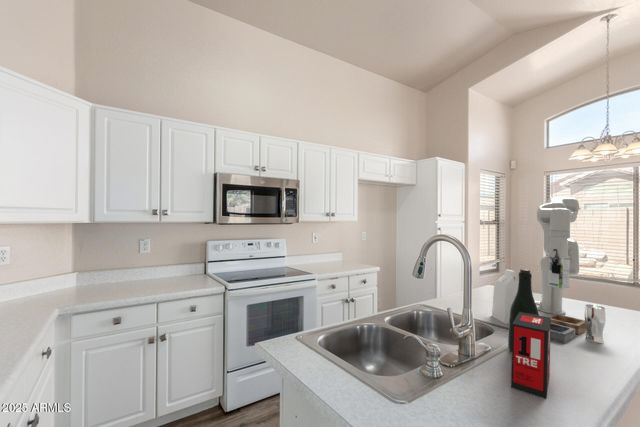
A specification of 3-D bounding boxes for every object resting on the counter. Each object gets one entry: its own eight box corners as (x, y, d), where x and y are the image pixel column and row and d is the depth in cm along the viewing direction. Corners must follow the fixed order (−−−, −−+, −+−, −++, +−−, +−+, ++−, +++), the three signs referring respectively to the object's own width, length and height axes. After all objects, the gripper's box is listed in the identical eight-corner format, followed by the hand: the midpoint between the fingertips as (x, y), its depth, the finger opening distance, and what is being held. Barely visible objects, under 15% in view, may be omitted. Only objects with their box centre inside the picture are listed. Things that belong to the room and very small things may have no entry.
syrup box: (548, 285, 145) (548, 255, 145) (556, 285, 147) (557, 255, 147) (560, 288, 140) (561, 256, 140) (569, 288, 142) (570, 256, 142)
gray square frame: (530, 333, 142) (530, 325, 142) (541, 328, 149) (541, 320, 149) (564, 343, 131) (564, 334, 131) (575, 337, 138) (575, 328, 138)
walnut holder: (545, 326, 151) (545, 317, 151) (555, 322, 159) (555, 313, 159) (578, 335, 141) (578, 326, 141) (587, 330, 148) (587, 321, 148)
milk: (527, 324, 155) (528, 272, 155) (504, 323, 155) (505, 272, 155) (513, 316, 167) (514, 268, 167) (491, 315, 167) (492, 268, 167)
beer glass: (586, 341, 134) (587, 307, 134) (582, 336, 140) (582, 303, 140) (607, 345, 131) (608, 309, 131) (602, 339, 137) (602, 305, 137)
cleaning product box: (546, 399, 90) (547, 331, 90) (511, 387, 96) (512, 323, 96) (549, 377, 103) (550, 317, 103) (518, 368, 109) (519, 311, 109)
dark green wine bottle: (533, 349, 125) (535, 268, 125) (544, 361, 115) (546, 272, 115) (504, 345, 127) (506, 266, 128) (512, 357, 117) (514, 270, 118)
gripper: (556, 234, 152) (556, 270, 152) (542, 234, 142) (542, 272, 142) (575, 235, 146) (575, 272, 145) (562, 235, 136) (562, 275, 135)
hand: (559, 272), depth 143 cm, fingers closed on syrup box, 7 cm apart
